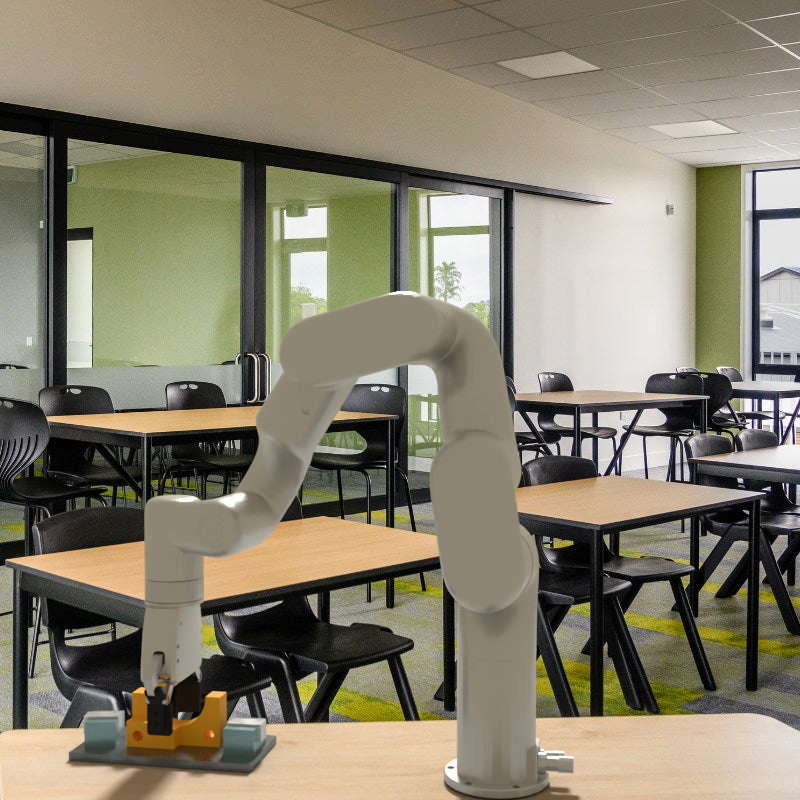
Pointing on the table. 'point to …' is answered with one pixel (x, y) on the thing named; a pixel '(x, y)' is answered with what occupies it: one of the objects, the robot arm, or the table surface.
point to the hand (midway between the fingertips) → (174, 722)
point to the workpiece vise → (236, 754)
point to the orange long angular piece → (180, 725)
